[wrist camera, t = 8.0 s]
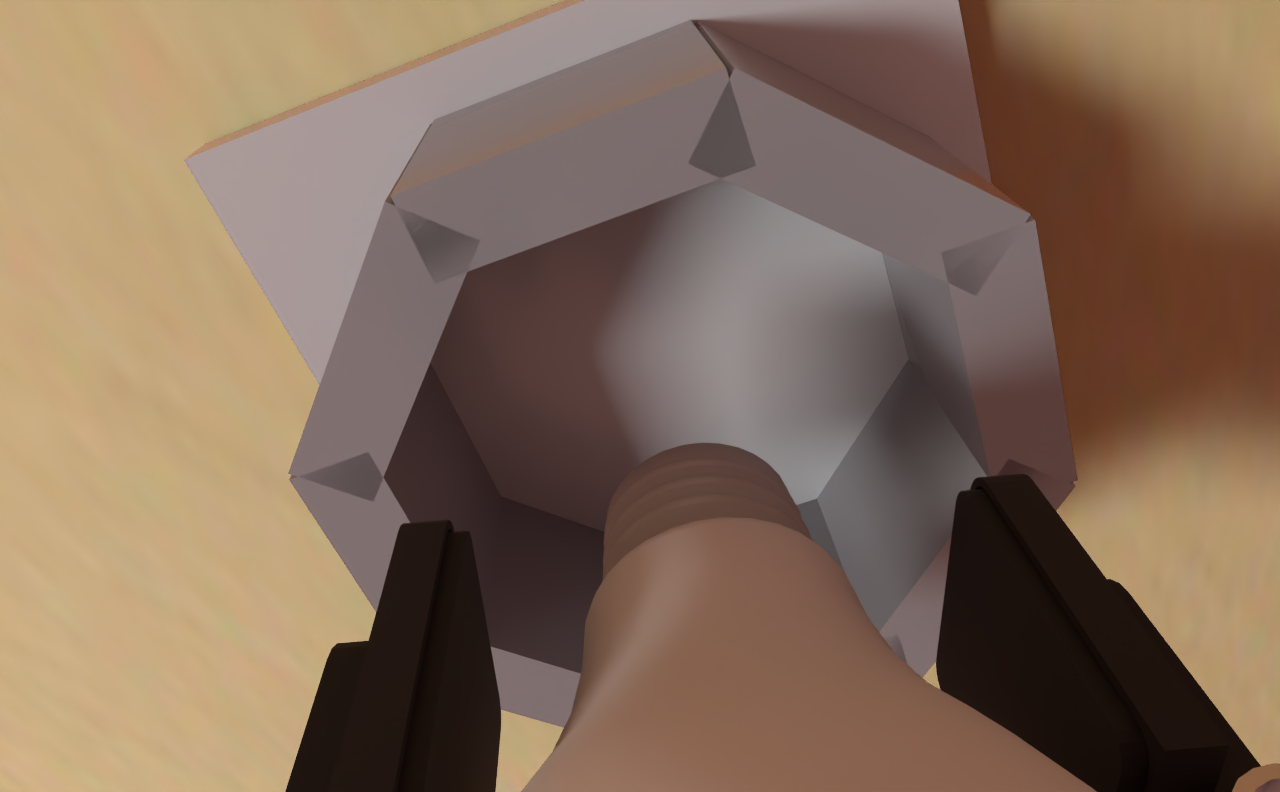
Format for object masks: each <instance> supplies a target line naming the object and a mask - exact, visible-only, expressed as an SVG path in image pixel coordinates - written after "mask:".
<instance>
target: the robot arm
mask: <svg viewBox="0 0 1280 792" xmlns="http://www.w3.org/2000/svg"><path fill="white" fill-rule="evenodd" d="M936 669H937V676H938V681H939V685H940V688H941V690H942V691H943V692H945V693H947V694H949V695H950V696H952V697H954V698H956V699H957V700H959V701H961V702H963V703H964V704H966V705H968V706H970V707H972V708H973V709H975V710H976V711H978V712H980V713H981V714H983V715H984V716H986V717H988V718H989V719H991V720H992V721H994V722H996V723H997V724H999V725H1001V726H1002V727H1004V728H1005V729H1007V730H1009V731H1010V732H1012V733H1013V734H1015V735H1016V736H1018V737H1019V738H1021V739H1022V740H1023V741H1025V742H1026V743H1028V744H1029V745H1031V746H1032V747H1034V748H1035V749H1036V750H1038V751H1039V752H1041V753H1042V754H1044V755H1045V756H1047V757H1048V758H1049V759H1051V760H1052V761H1054V762H1055V763H1057V764H1058V765H1059V766H1061V767H1062V768H1064V769H1065V770H1067V771H1068V772H1070V773H1071V774H1072V775H1074V776H1075V777H1077V778H1078V779H1080V780H1081V781H1083V782H1084V783H1085V784H1087V785H1088V786H1090V787H1091V788H1093V789H1094V790H1095V791H1097V792H1280V764H1277V763H1274V764H1270V765H1265V766H1260V764H1259V763H1258V762H1257V760H1256V759H1255V758H1254V756H1253V755H1252V754H1251V753H1250V751H1249V750H1248V749H1247V747H1246V746H1245V745H1244V743H1243V742H1242V741H1241V739H1240V738H1239V737H1238V735H1237V734H1236V733H1235V732H1234V730H1233V729H1232V728H1231V726H1230V725H1229V724H1228V722H1227V721H1226V720H1225V718H1224V717H1223V716H1222V714H1221V713H1220V712H1219V711H1218V709H1217V708H1216V707H1215V705H1214V704H1213V703H1212V701H1211V700H1210V699H1209V697H1208V696H1207V695H1206V693H1205V692H1204V691H1203V690H1202V688H1201V687H1200V686H1199V684H1198V683H1197V682H1196V680H1195V679H1194V678H1193V676H1192V675H1191V674H1190V672H1189V671H1188V670H1187V669H1186V667H1185V666H1184V665H1183V663H1182V662H1181V661H1180V659H1179V658H1178V657H1177V655H1176V654H1175V653H1174V651H1173V650H1172V649H1171V648H1170V646H1169V645H1168V644H1167V642H1166V641H1165V640H1164V638H1163V637H1162V636H1161V634H1160V633H1159V632H1158V630H1157V629H1156V628H1155V627H1154V625H1153V624H1152V623H1151V621H1150V620H1149V619H1148V617H1147V616H1146V615H1145V613H1144V612H1143V611H1142V609H1141V608H1140V607H1139V606H1138V604H1137V603H1136V602H1135V600H1134V599H1133V598H1132V596H1131V595H1130V594H1129V592H1128V591H1127V590H1126V589H1125V588H1124V587H1123V586H1122V585H1121V584H1120V583H1118V582H1115V581H1113V580H1111V579H1106V578H1105V576H1104V575H1103V574H1102V572H1101V571H1100V570H1099V568H1098V567H1097V566H1096V564H1095V563H1094V562H1093V560H1092V559H1091V558H1090V556H1089V555H1088V554H1087V552H1086V551H1085V550H1084V548H1083V547H1082V546H1081V544H1080V543H1079V541H1078V540H1077V539H1076V537H1075V536H1074V535H1073V533H1072V532H1071V531H1070V529H1069V528H1068V527H1067V525H1066V524H1065V523H1064V521H1063V520H1062V519H1061V517H1060V516H1059V515H1058V513H1057V512H1056V511H1055V509H1054V508H1053V507H1052V505H1051V504H1050V503H1049V501H1048V500H1047V499H1046V497H1045V496H1044V495H1043V493H1042V492H1041V490H1040V489H1039V488H1038V486H1037V485H1036V484H1035V482H1034V481H1033V480H1032V479H1031V478H1030V477H1029V476H1028V475H1026V474H1012V475H999V476H987V477H978V478H976V479H974V481H973V483H972V485H971V488H970V490H966V491H961V492H959V493H958V495H957V499H956V504H955V512H954V520H953V528H952V536H951V544H950V552H949V560H948V568H947V577H946V585H945V593H944V601H943V609H942V617H941V625H940V633H939V641H938V649H937V657H936ZM500 731H501V707H500V697H499V691H498V685H497V680H496V674H495V668H494V663H493V657H492V651H491V645H490V640H489V634H488V628H487V623H486V617H485V611H484V606H483V600H482V594H481V589H480V583H479V577H478V571H477V566H476V560H475V554H474V549H473V543H472V538H471V535H470V532H469V531H458V532H454V527H453V525H452V522H451V521H450V520H440V521H427V522H415V523H403V524H402V525H401V526H400V528H399V531H398V534H397V538H396V542H395V545H394V549H393V553H392V556H391V560H390V564H389V568H388V571H387V575H386V579H385V582H384V586H383V590H382V594H381V597H380V601H379V605H378V608H377V612H376V616H375V620H374V623H373V627H372V631H371V635H370V638H369V641H362V642H350V643H338V644H336V645H335V646H334V647H333V648H332V649H331V652H330V654H329V656H328V659H327V662H326V665H325V668H324V671H323V674H322V677H321V681H320V684H319V687H318V690H317V693H316V696H315V700H314V703H313V706H312V709H311V712H310V715H309V719H308V722H307V725H306V728H305V731H304V735H303V738H302V741H301V744H300V747H299V750H298V754H297V757H296V760H295V763H294V766H293V769H292V773H291V776H290V779H289V782H288V785H287V788H286V792H495V788H496V777H497V766H498V754H499V743H500Z"/></svg>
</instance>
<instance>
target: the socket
mask: <svg viewBox="0 0 1280 792" xmlns="http://www.w3.org/2000/svg"><path fill="white" fill-rule="evenodd" d="M184 161H185V163H186V164H187V166H188V168H189V169H190V171H191V173H192V174H193V176H194V177H195V179H196V181H197V182H198V184H199V186H200V187H201V189H202V191H203V192H204V194H205V196H206V197H207V199H208V201H209V202H210V204H211V206H212V207H213V209H214V211H215V212H216V214H217V216H218V217H219V219H220V221H221V222H222V224H223V226H224V227H225V229H226V231H227V232H228V234H229V236H230V237H231V239H232V241H233V242H234V244H235V246H236V247H237V249H238V251H239V252H240V254H241V256H242V257H243V259H244V261H245V262H246V264H247V266H248V267H249V269H250V271H251V272H252V274H253V276H254V277H255V279H256V280H257V282H258V284H259V285H260V287H261V289H262V290H263V292H264V294H265V295H266V297H267V299H268V300H269V302H270V304H271V305H272V307H273V309H274V310H275V312H276V314H277V315H278V317H279V319H280V320H281V322H282V324H283V325H284V327H285V329H286V330H287V332H288V334H289V335H290V337H291V339H292V340H293V342H294V344H295V345H296V347H297V349H298V350H299V352H300V354H301V355H302V357H303V359H304V360H305V362H306V364H307V365H308V367H309V369H310V370H311V372H312V374H313V375H314V377H315V379H316V380H317V382H318V383H319V385H320V386H319V389H318V391H317V394H316V397H315V400H314V403H313V406H312V408H311V411H310V414H309V417H308V420H307V422H306V425H305V428H304V431H303V434H302V437H301V439H300V442H299V445H298V448H297V451H296V454H295V456H294V459H293V462H292V465H291V468H290V470H289V473H288V474H291V477H290V479H289V480H290V482H291V483H292V485H293V486H294V488H295V489H296V491H297V492H298V494H299V495H300V497H301V498H302V500H303V501H304V503H305V504H306V506H307V507H308V509H309V510H310V512H311V513H312V515H313V517H314V518H315V520H316V521H317V523H318V524H319V526H320V527H321V529H322V530H323V532H324V533H325V535H326V536H327V538H328V539H329V541H330V542H331V544H332V545H333V547H334V549H335V550H336V552H337V553H338V555H339V556H340V558H341V559H342V561H343V562H344V564H345V565H346V567H347V568H348V570H349V571H350V573H351V574H352V576H353V577H354V579H355V581H356V582H357V584H358V585H359V587H360V588H361V590H362V591H363V593H364V594H365V596H366V597H367V599H368V600H369V602H370V603H371V605H372V606H373V608H374V609H375V611H376V612H377V608H378V605H379V601H380V597H381V594H382V590H383V586H384V582H385V579H386V575H387V571H388V568H389V564H390V560H391V556H392V553H393V549H394V545H395V542H396V538H397V534H398V531H399V528H400V526H401V525H402V524H403V523H415V522H427V521H440V520H450V521H451V522H452V525H453V527H454V532H458V531H469V532H470V535H471V538H472V543H473V549H474V554H475V560H476V566H477V571H478V577H479V583H480V589H481V594H482V600H483V606H484V611H485V617H486V623H487V628H488V634H489V640H490V645H491V651H492V657H493V663H494V668H495V674H496V680H497V685H498V691H499V697H500V707H501V710H505V711H508V712H512V713H515V714H519V715H522V716H526V717H529V718H533V719H536V720H540V721H543V722H547V723H550V724H554V725H557V726H561V727H565V725H566V723H567V721H568V719H569V717H570V715H571V712H572V708H573V704H574V700H575V696H576V692H577V688H578V684H579V680H580V675H581V671H582V664H583V648H584V634H585V621H586V618H587V616H588V613H589V610H590V607H591V604H592V601H593V598H594V596H595V594H596V592H597V590H598V588H599V587H600V585H601V584H602V580H603V555H604V532H605V524H606V521H607V511H608V508H609V505H610V502H611V499H612V496H613V495H614V493H615V491H616V490H617V488H618V486H619V485H620V483H621V482H622V481H623V480H624V479H625V477H626V476H627V475H628V474H629V473H630V472H631V471H632V470H633V469H634V468H636V467H637V466H638V465H640V464H641V463H642V462H644V461H645V460H646V459H648V458H650V457H652V456H654V455H656V454H658V453H660V452H662V451H664V450H668V449H671V448H674V447H677V446H681V445H687V444H694V443H721V444H725V445H730V446H735V447H739V448H741V449H744V450H746V451H748V452H751V453H753V454H755V455H757V456H758V457H760V458H761V459H762V460H764V461H765V462H767V463H768V464H769V465H770V466H771V467H772V468H773V469H774V470H775V471H776V472H777V473H778V474H779V475H780V477H781V479H782V480H783V482H784V484H785V485H786V487H787V489H788V491H789V493H790V495H791V497H792V498H793V500H794V502H795V504H796V505H797V507H798V509H799V510H800V513H801V517H802V520H803V521H804V523H805V525H806V526H807V528H808V530H809V533H810V536H811V539H812V541H814V542H815V543H817V544H818V545H820V546H821V547H822V548H823V549H824V550H825V551H826V552H827V553H828V554H829V555H830V556H831V557H832V558H833V559H834V560H835V561H836V562H837V563H838V564H839V566H840V567H841V568H842V569H843V571H844V572H845V574H846V576H847V578H848V579H849V581H850V583H851V585H852V586H853V588H854V590H855V592H856V594H857V596H858V598H859V600H860V602H861V604H862V606H863V608H864V610H865V612H866V614H867V616H868V618H869V619H870V620H871V622H872V623H873V624H874V626H875V627H876V628H877V630H878V631H879V632H880V634H881V635H882V637H883V638H884V639H885V641H886V642H887V643H888V645H889V646H890V647H891V649H892V650H893V651H894V653H895V654H896V655H897V656H899V657H900V658H901V659H902V660H903V661H904V662H905V663H906V664H907V665H909V666H910V667H911V668H912V669H913V670H914V671H915V672H916V673H917V674H919V675H920V676H921V677H922V678H923V677H924V675H925V674H926V673H927V672H928V670H929V669H930V668H931V667H932V665H933V664H934V663H935V662H936V657H937V649H938V641H939V633H940V625H941V617H942V609H943V601H944V593H945V585H946V577H947V568H948V560H949V552H950V544H951V536H952V528H953V520H954V512H955V504H956V499H957V495H958V493H959V492H961V491H966V490H970V488H971V485H972V483H973V481H974V479H976V478H978V477H987V476H999V475H1012V474H1026V475H1028V476H1029V477H1030V478H1031V479H1032V480H1033V481H1034V482H1035V484H1036V485H1037V486H1038V488H1039V489H1040V490H1041V492H1042V493H1043V495H1044V496H1045V497H1046V499H1047V500H1048V501H1049V503H1050V504H1051V505H1052V507H1053V508H1054V509H1055V511H1056V510H1057V509H1058V508H1059V506H1060V505H1061V504H1062V503H1063V501H1064V500H1065V499H1066V497H1067V496H1068V495H1069V494H1070V492H1071V491H1072V490H1073V489H1074V487H1075V485H1074V483H1073V482H1074V481H1077V474H1076V468H1075V462H1074V456H1073V450H1072V444H1071V437H1070V431H1069V425H1068V419H1067V413H1066V407H1065V401H1064V394H1063V388H1062V382H1061V376H1060V370H1059V364H1058V357H1057V351H1056V345H1055V339H1054V333H1053V327H1052V321H1051V314H1050V308H1049V302H1048V296H1047V290H1046V284H1045V278H1044V271H1043V265H1042V259H1041V253H1040V247H1039V241H1038V234H1037V228H1036V222H1035V219H1033V218H1032V217H1031V216H1030V215H1031V214H1030V213H1029V212H1028V211H1026V210H1025V209H1024V208H1022V207H1021V206H1020V205H1018V204H1017V203H1016V202H1014V201H1013V200H1012V199H1010V198H1009V197H1008V196H1007V195H1005V194H1004V193H1003V192H1001V191H1000V190H999V189H997V188H996V187H995V186H993V185H992V182H991V176H990V171H989V165H988V160H987V154H986V149H985V143H984V138H983V132H982V127H981V121H980V116H979V110H978V105H977V99H976V94H975V88H974V83H973V77H972V72H971V66H970V61H969V55H968V50H967V44H966V39H965V33H964V28H963V22H962V17H961V12H960V6H959V1H958V0H565V1H562V2H560V3H557V4H555V5H552V6H550V7H547V8H545V9H542V10H540V11H537V12H535V13H532V14H530V15H527V16H525V17H522V18H520V19H517V20H515V21H512V22H510V23H507V24H505V25H502V26H500V27H497V28H495V29H492V30H490V31H487V32H485V33H482V34H480V35H477V36H475V37H472V38H470V39H467V40H464V41H462V42H459V43H457V44H454V45H452V46H449V47H447V48H444V49H442V50H439V51H437V52H434V53H432V54H429V55H427V56H424V57H422V58H419V59H417V60H414V61H412V62H409V63H407V64H404V65H402V66H399V67H397V68H394V69H392V70H389V71H387V72H384V73H382V74H379V75H377V76H374V77H372V78H369V79H367V80H364V81H362V82H359V83H357V84H354V85H352V86H349V87H347V88H344V89H342V90H339V91H337V92H334V93H332V94H329V95H327V96H324V97H321V98H319V99H316V100H314V101H311V102H309V103H306V104H304V105H301V106H299V107H296V108H294V109H291V110H289V111H286V112H284V113H281V114H279V115H276V116H274V117H271V118H269V119H266V120H264V121H261V122H259V123H256V124H254V125H251V126H249V127H246V128H244V129H241V130H239V131H236V132H234V133H231V134H229V135H226V136H224V137H221V138H219V139H216V140H214V141H211V142H209V143H206V144H204V145H203V146H202V147H200V148H199V149H198V150H196V151H195V152H194V153H192V154H191V155H189V156H188V157H187V158H185V159H184Z"/></svg>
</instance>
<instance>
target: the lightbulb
mask: <svg viewBox="0 0 1280 792" xmlns="http://www.w3.org/2000/svg"><path fill="white" fill-rule="evenodd" d="M521 792H1097V791H1095V790H1094V789H1093V788H1091V787H1090V786H1088V785H1087V784H1085V783H1084V782H1083V781H1081V780H1080V779H1078V778H1077V777H1075V776H1074V775H1072V774H1071V773H1070V772H1068V771H1067V770H1065V769H1064V768H1062V767H1061V766H1059V765H1058V764H1057V763H1055V762H1054V761H1052V760H1051V759H1049V758H1048V757H1047V756H1045V755H1044V754H1042V753H1041V752H1039V751H1038V750H1036V749H1035V748H1034V747H1032V746H1031V745H1029V744H1028V743H1026V742H1025V741H1023V740H1022V739H1021V738H1019V737H1018V736H1016V735H1015V734H1013V733H1012V732H1010V731H1009V730H1007V729H1005V728H1004V727H1002V726H1001V725H999V724H997V723H996V722H994V721H992V720H991V719H989V718H988V717H986V716H984V715H983V714H981V713H980V712H978V711H976V710H975V709H973V708H972V707H970V706H968V705H966V704H964V703H963V702H961V701H959V700H957V699H956V698H954V697H952V696H950V695H949V694H947V693H945V692H943V691H942V690H940V689H938V688H936V687H934V686H933V685H931V684H929V683H927V682H926V681H925V680H924V679H923V678H922V677H921V676H920V675H919V674H917V673H916V672H915V671H914V670H913V669H912V668H911V667H910V666H909V665H907V664H906V663H905V662H904V661H903V660H902V659H901V658H900V657H899V656H897V655H896V654H895V653H894V651H893V650H892V649H891V647H890V646H889V645H888V643H887V642H886V641H885V639H884V638H883V637H882V635H881V634H880V632H879V631H878V630H877V628H876V627H875V626H874V624H873V623H872V622H871V620H870V619H869V618H868V616H867V614H866V612H865V610H864V608H863V606H862V604H861V602H860V600H859V598H858V596H857V594H856V592H855V590H854V588H853V586H852V585H851V583H850V581H849V579H848V578H847V576H846V574H845V572H844V571H843V569H842V568H841V567H840V566H839V564H838V563H837V562H836V561H835V560H834V559H833V558H832V557H831V556H830V555H829V554H828V553H827V552H826V551H825V550H824V549H823V548H822V547H821V546H820V545H818V544H817V543H815V542H814V541H812V539H811V536H810V533H809V530H808V528H807V526H806V525H805V523H804V521H803V520H802V517H801V513H800V510H799V509H798V507H797V505H796V504H795V502H794V500H793V498H792V497H791V495H790V493H789V491H788V489H787V487H786V485H785V484H784V482H783V480H782V479H781V477H780V475H779V474H778V473H777V472H776V471H775V470H774V469H773V468H772V467H771V466H770V465H769V464H768V463H767V462H765V461H764V460H762V459H761V458H760V457H758V456H757V455H755V454H753V453H751V452H748V451H746V450H744V449H741V448H739V447H735V446H730V445H725V444H721V443H694V444H687V445H681V446H677V447H674V448H671V449H668V450H664V451H662V452H660V453H658V454H656V455H654V456H652V457H650V458H648V459H646V460H645V461H644V462H642V463H641V464H640V465H638V466H637V467H636V468H634V469H633V470H632V471H631V472H630V473H629V474H628V475H627V476H626V477H625V479H624V480H623V481H622V482H621V483H620V485H619V486H618V488H617V490H616V491H615V493H614V495H613V496H612V499H611V502H610V505H609V508H608V511H607V521H606V524H605V532H604V555H603V580H602V584H601V585H600V587H599V588H598V590H597V592H596V594H595V596H594V598H593V601H592V604H591V607H590V610H589V613H588V616H587V618H586V621H585V634H584V648H583V664H582V671H581V675H580V680H579V684H578V688H577V692H576V696H575V700H574V704H573V708H572V712H571V715H570V717H569V719H568V721H567V723H566V725H565V727H564V729H563V731H562V733H561V735H560V738H559V740H558V742H557V744H556V746H555V748H554V750H553V752H552V753H551V755H550V756H549V757H548V759H547V760H546V761H545V762H544V764H543V765H542V766H541V767H540V769H539V770H538V771H537V772H536V774H535V775H534V776H533V777H532V779H531V780H530V781H529V783H528V784H527V785H526V786H525V788H524V789H523V790H522V791H521Z"/></svg>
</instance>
